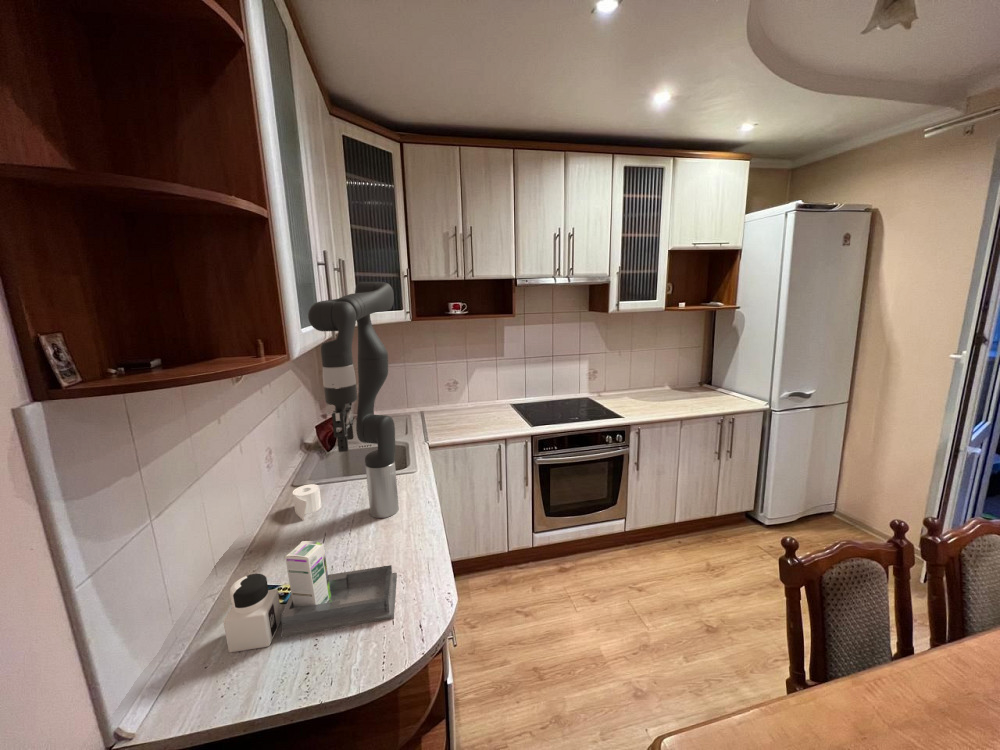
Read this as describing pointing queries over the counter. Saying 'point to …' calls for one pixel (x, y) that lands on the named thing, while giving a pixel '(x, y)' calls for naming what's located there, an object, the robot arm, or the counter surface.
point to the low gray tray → (346, 602)
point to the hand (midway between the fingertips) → (346, 445)
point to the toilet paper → (306, 500)
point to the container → (252, 614)
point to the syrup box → (308, 574)
